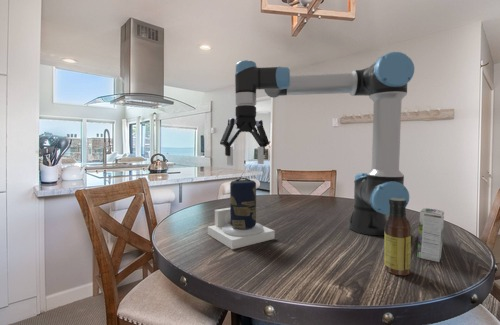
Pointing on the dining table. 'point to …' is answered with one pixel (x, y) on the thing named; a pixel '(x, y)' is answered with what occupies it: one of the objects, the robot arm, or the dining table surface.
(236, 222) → the canister
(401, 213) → the sauce bottle
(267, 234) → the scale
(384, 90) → the robot arm
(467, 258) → the dining table surface
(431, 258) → the syrup box
